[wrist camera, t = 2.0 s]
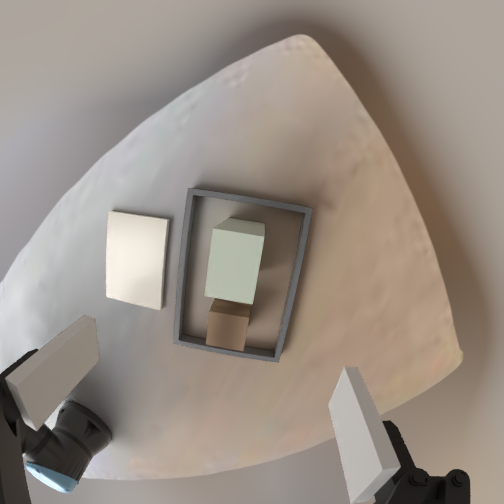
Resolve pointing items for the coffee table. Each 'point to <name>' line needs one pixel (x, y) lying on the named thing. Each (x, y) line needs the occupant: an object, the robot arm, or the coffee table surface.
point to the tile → (136, 258)
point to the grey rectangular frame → (183, 264)
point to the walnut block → (228, 324)
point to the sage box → (235, 260)
